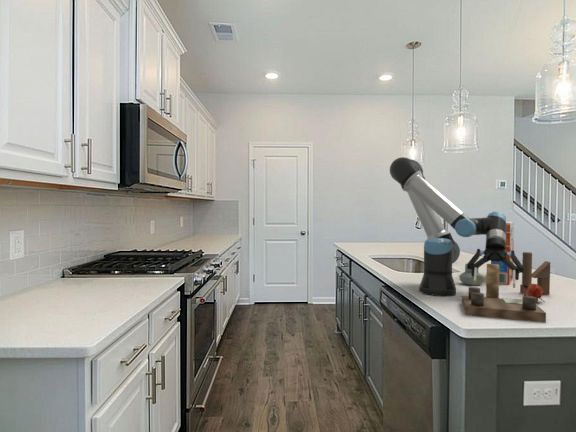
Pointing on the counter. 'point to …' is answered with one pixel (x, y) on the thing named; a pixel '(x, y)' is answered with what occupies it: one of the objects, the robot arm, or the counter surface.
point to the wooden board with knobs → (502, 307)
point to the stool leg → (492, 281)
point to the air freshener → (470, 277)
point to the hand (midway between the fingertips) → (494, 284)
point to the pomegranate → (533, 291)
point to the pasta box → (504, 270)
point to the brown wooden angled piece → (535, 274)
